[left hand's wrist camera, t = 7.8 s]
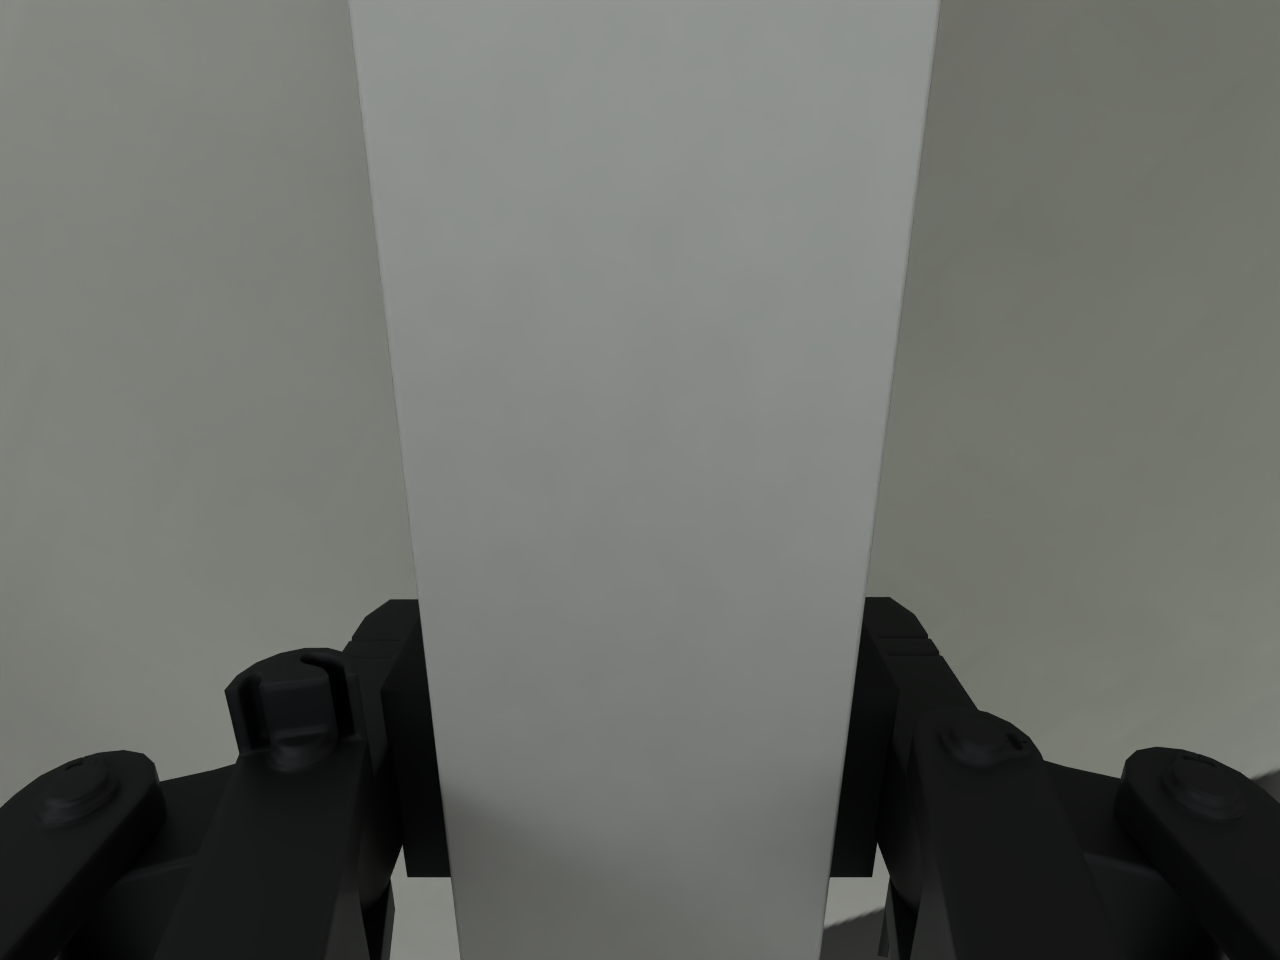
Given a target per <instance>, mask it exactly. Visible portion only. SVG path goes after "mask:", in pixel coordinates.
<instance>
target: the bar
mask: <svg viewBox="0 0 1280 960" xmlns="http://www.w3.org/2000/svg"><path fill="white" fill-rule="evenodd" d="M348 5H349V14H350V22H351V31H352V39H353V48H354V56H355V65H356V73H357V82H358V90H359V99H360V107H361V116H362V124H363V133H364V141H365V150H366V158H367V167H368V175H369V184H370V192H371V201H372V209H373V218H374V226H375V235H376V243H377V252H378V260H379V269H380V277H381V286H382V295H383V303H384V312H385V320H386V329H387V337H388V346H389V354H390V363H391V371H392V380H393V388H394V397H395V405H396V414H397V422H398V431H399V439H400V448H401V456H402V465H403V473H404V482H405V490H406V499H407V507H408V516H409V524H410V533H411V541H412V550H413V558H414V567H415V575H416V584H417V592H418V601H419V609H420V618H421V626H422V635H423V643H424V652H425V660H426V669H427V677H428V686H429V694H430V703H431V711H432V720H433V728H434V737H435V746H436V754H437V763H438V771H439V780H440V788H441V797H442V805H443V814H444V822H445V831H446V839H447V848H448V856H449V865H450V873H451V882H452V890H453V899H454V907H455V916H456V924H457V933H458V941H459V950H460V958H461V960H819V958H820V950H821V942H822V934H823V926H824V919H825V911H826V903H827V895H828V887H829V879H830V871H831V864H832V856H833V848H834V840H835V832H836V824H837V816H838V809H839V801H840V793H841V785H842V777H843V769H844V762H845V754H846V746H847V738H848V730H849V722H850V714H851V707H852V699H853V691H854V683H855V675H856V667H857V659H858V652H859V644H860V636H861V628H862V620H863V612H864V604H865V597H866V589H867V581H868V573H869V565H870V557H871V550H872V542H873V534H874V526H875V518H876V510H877V502H878V495H879V487H880V479H881V471H882V463H883V455H884V447H885V440H886V432H887V424H888V416H889V408H890V400H891V392H892V385H893V377H894V369H895V361H896V353H897V345H898V338H899V330H900V322H901V314H902V306H903V298H904V290H905V283H906V275H907V267H908V259H909V251H910V243H911V235H912V228H913V220H914V212H915V204H916V196H917V188H918V180H919V173H920V165H921V157H922V149H923V141H924V133H925V126H926V118H927V110H928V102H929V94H930V86H931V78H932V71H933V63H934V55H935V47H936V39H937V31H938V23H939V16H940V8H941V0H348Z"/></svg>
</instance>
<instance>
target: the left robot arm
mask: <svg viewBox="0 0 1280 960" xmlns="http://www.w3.org/2000/svg"><path fill="white" fill-rule="evenodd" d="M224 691H225V695H226V699H227V703H228V707H229V712H230V716H231V720H232V724H233V728H234V733H235V737H236V741H237V745H238V750H239V756H238V759H237V761H236V764H233V765H229V766H226V767H222V768H219V769H215V770H211V771H207V772H202V773H197V774H193V775H188V776H184V777H179V778H175V779H170V780H166V781H161V782H160V781H159V778H158V774H157V771H156V767H155V764H154V763H153V762H152V761H151V760H150V759H149V758H148V757H147V756H146V755H144V754H142V753H137V752H132V751H126V750H120V751H110V752H101V753H96V754H93V755H89V756H85V757H83V758H78V759H75V760H73V761H70V762H67V763H65V764H63V765H61V766H59V767H57V768H55V769H53V770H51V771H49V772H47V773H45V774H43V775H41V776H39V777H38V778H37V779H35V780H34V781H33V782H31V783H30V784H28V785H27V786H26V787H24V788H23V789H22V790H20V791H19V792H18V793H16V794H15V795H14V796H13V797H12V798H11V799H10V800H8V801H7V802H6V803H5V804H4V805H3V806H2V807H1V808H0V960H389V959H390V950H391V941H392V931H393V922H394V913H395V906H394V899H393V891H392V885H391V879H390V877H391V874H392V872H393V869H394V866H395V864H396V861H397V858H398V855H399V853H400V850H401V847H402V845H403V850H404V857H405V864H406V871H407V877H451V873H450V865H449V856H448V848H447V839H446V831H445V822H444V814H443V805H442V797H441V788H440V780H439V771H438V763H437V754H436V746H435V737H434V728H433V720H432V711H431V703H430V694H429V686H428V677H427V669H426V660H425V652H424V643H423V635H422V626H421V618H420V609H419V601H418V599H390V600H389V601H387V602H386V603H384V604H383V605H382V606H380V607H379V608H377V609H376V610H374V611H373V612H372V613H370V614H369V615H367V616H366V617H365V618H364V620H363V621H362V623H361V624H360V626H359V627H358V629H357V630H356V632H355V633H354V635H353V636H352V641H349V642H348V644H347V645H346V647H345V648H344V650H343V651H342V652H341V651H337V650H334V649H330V648H303V649H298V650H293V651H288V652H283V653H279V654H277V655H274V656H272V657H269V658H267V659H264V660H262V661H259V662H257V663H255V664H254V665H252V666H251V667H249V668H248V669H246V670H244V671H243V672H241V673H240V674H238V675H237V676H236V677H235V678H234V680H233V681H232V682H231V683H230V684H229V686H228V687H227V688H226V689H225V690H224ZM877 842H878V845H879V848H880V850H881V853H882V856H883V858H884V861H885V864H886V867H887V869H888V872H889V875H890V879H889V885H888V891H887V898H886V904H885V910H884V917H883V923H882V929H881V935H880V942H879V950H878V956H883V957H888V952H889V948H890V957H891V960H1280V804H1279V803H1278V802H1277V801H1276V800H1275V799H1274V798H1273V797H1272V796H1271V795H1269V794H1268V793H1267V792H1266V791H1265V790H1264V789H1262V788H1261V787H1260V786H1258V785H1257V784H1255V783H1254V782H1253V781H1251V780H1250V779H1249V778H1247V777H1246V776H1245V775H1243V774H1242V773H1240V772H1238V771H1236V770H1234V769H1232V768H1230V767H1228V766H1226V765H1224V764H1222V763H1220V762H1218V761H1216V760H1214V759H1212V758H1209V757H1206V756H1204V755H1201V754H1196V753H1194V752H1189V751H1186V750H1182V749H1173V748H1164V747H1152V748H1147V749H1142V750H1137V751H1136V752H1134V753H1133V754H1132V755H1131V756H1130V757H1129V758H1128V759H1127V760H1126V762H1125V765H1124V769H1123V772H1122V776H1121V779H1120V778H1115V777H1111V776H1106V775H1102V774H1097V773H1092V772H1088V771H1083V770H1079V769H1074V768H1069V767H1065V766H1062V765H1058V764H1055V763H1051V762H1048V761H1044V760H1043V758H1042V755H1041V753H1040V752H1039V750H1038V749H1037V747H1036V746H1035V744H1034V743H1033V742H1032V740H1031V739H1030V737H1029V736H1027V735H1026V734H1025V733H1023V732H1022V731H1021V730H1019V729H1018V728H1017V727H1015V726H1014V725H1013V724H1011V723H1010V722H1008V721H1005V720H1003V719H1001V718H999V717H997V716H994V715H992V714H990V713H988V712H984V711H979V710H978V709H977V707H976V706H975V704H974V703H973V701H972V700H971V698H970V697H969V695H968V694H967V692H966V691H965V689H964V688H963V686H962V685H961V683H960V682H959V680H958V679H957V677H956V676H955V674H954V673H953V671H952V670H951V668H950V667H949V665H948V664H947V662H946V661H945V659H944V658H943V656H939V650H938V649H937V647H936V646H935V644H934V643H933V641H932V640H931V639H928V634H927V632H926V631H925V629H924V628H923V626H922V625H921V623H920V622H919V620H918V619H917V617H916V616H915V614H913V613H912V612H910V611H909V610H907V609H906V608H905V607H903V606H902V605H900V604H899V603H897V602H896V601H894V600H893V599H892V598H890V597H865V604H864V612H863V620H862V628H861V636H860V644H859V652H858V659H857V667H856V675H855V683H854V691H853V699H852V707H851V714H850V722H849V730H848V738H847V746H846V754H845V762H844V769H843V777H842V785H841V793H840V801H839V809H838V816H837V824H836V832H835V840H834V848H833V856H832V864H831V871H830V877H872V874H873V867H874V861H875V854H876V847H877Z"/></svg>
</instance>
